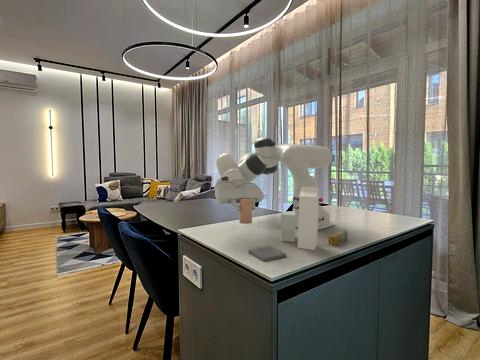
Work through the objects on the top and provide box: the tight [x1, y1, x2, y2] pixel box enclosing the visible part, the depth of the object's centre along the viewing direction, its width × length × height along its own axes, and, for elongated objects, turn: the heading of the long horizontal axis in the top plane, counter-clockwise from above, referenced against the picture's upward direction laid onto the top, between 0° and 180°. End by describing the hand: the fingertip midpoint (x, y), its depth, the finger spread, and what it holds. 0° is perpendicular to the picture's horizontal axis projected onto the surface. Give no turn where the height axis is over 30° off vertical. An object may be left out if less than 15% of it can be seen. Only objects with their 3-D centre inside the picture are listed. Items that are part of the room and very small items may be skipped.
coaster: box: [247, 245, 287, 262], centre depth 87 cm, size 9×9×1 cm
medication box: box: [328, 229, 348, 247], centre depth 102 cm, size 12×3×4 cm, turn 137°
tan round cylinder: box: [239, 199, 253, 225], centre depth 101 cm, size 5×5×9 cm
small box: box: [280, 210, 296, 243], centre depth 105 cm, size 8×6×10 cm
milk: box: [297, 187, 320, 251], centre depth 95 cm, size 6×6×22 cm
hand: (246, 209), depth 100 cm, fingers closed on tan round cylinder, 5 cm apart
